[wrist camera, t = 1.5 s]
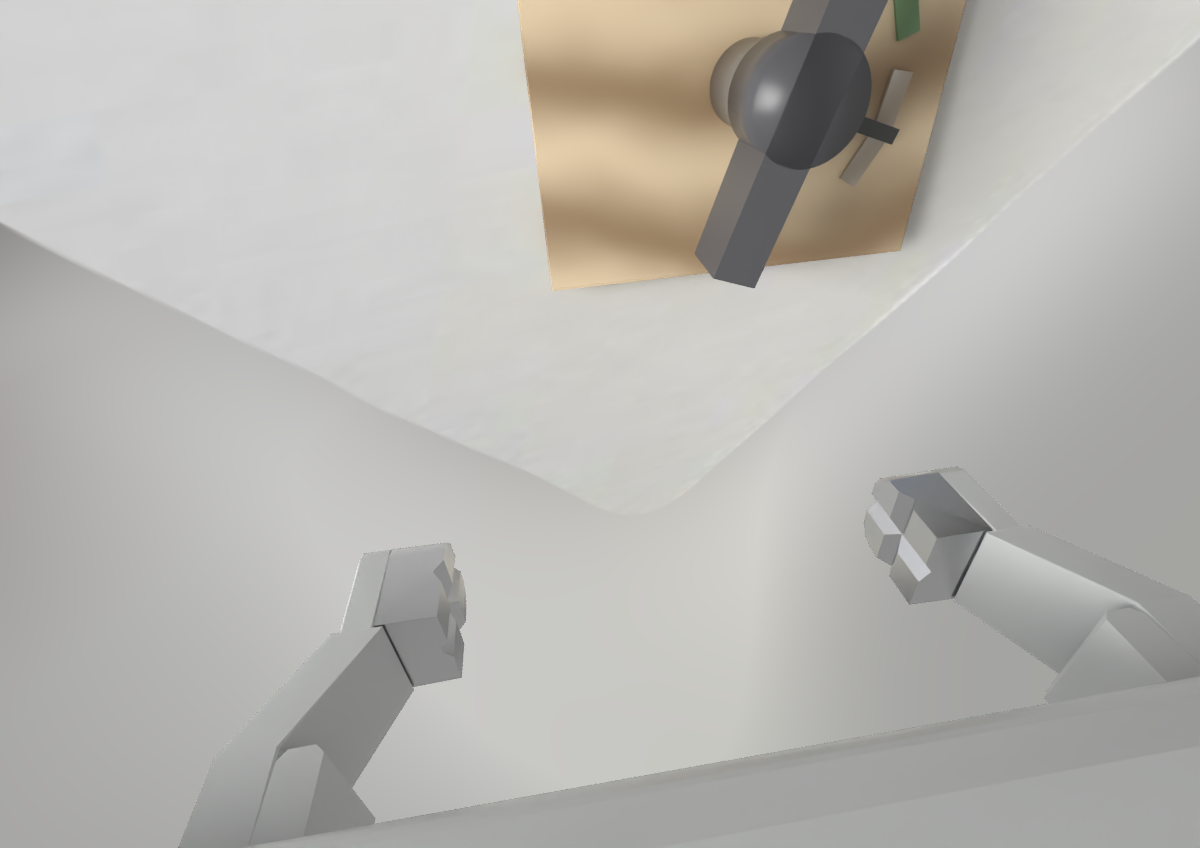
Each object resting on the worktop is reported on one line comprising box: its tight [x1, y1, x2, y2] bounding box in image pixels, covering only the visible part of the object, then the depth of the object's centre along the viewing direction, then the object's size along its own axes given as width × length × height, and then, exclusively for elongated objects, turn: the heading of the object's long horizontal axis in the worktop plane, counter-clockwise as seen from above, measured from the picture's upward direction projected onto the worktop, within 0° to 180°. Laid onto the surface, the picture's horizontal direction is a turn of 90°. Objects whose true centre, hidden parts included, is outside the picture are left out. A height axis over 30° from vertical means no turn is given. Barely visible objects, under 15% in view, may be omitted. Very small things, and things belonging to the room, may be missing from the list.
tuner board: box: [517, 0, 966, 291], centre depth 27 cm, size 18×20×2 cm
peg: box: [694, 0, 900, 288], centre depth 24 cm, size 14×10×7 cm
